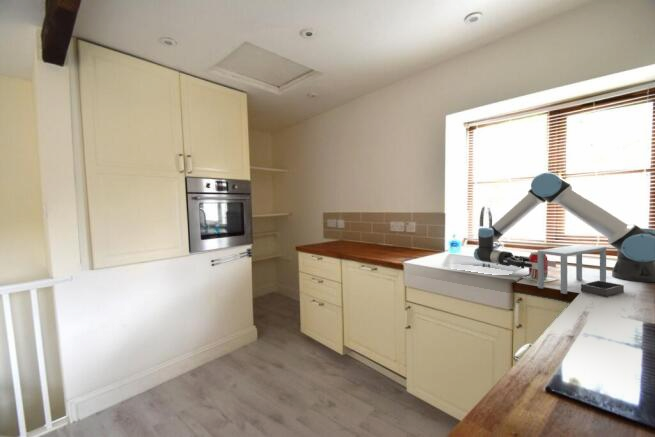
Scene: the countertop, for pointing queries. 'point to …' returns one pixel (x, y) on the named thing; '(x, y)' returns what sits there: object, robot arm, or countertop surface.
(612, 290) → the tray
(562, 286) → the bridge
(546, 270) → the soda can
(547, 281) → the mat
